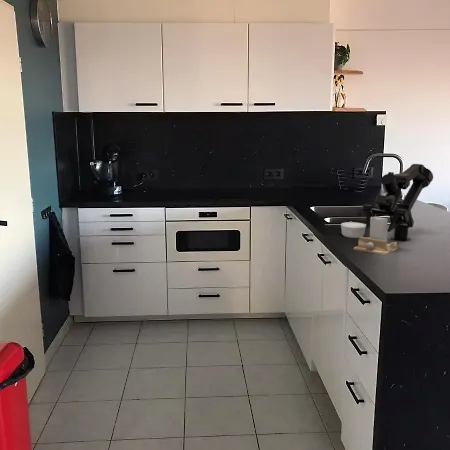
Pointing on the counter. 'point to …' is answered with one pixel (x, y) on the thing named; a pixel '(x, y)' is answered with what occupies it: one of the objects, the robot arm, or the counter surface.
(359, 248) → the cradle
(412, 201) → the robot arm
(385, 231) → the skincare box
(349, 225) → the ramekin
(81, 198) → the counter surface
